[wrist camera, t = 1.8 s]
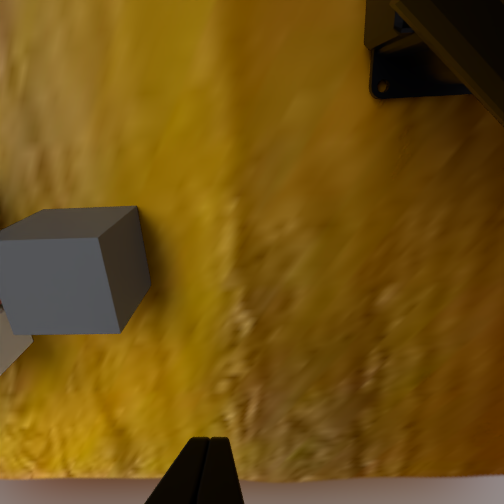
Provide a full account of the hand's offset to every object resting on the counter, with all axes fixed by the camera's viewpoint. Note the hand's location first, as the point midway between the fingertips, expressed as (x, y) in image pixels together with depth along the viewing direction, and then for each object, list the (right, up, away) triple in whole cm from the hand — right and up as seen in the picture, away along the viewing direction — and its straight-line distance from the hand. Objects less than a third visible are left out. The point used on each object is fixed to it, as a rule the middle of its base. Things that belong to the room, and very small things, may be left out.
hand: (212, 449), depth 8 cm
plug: (-7, +5, +12) cm, 15 cm away
